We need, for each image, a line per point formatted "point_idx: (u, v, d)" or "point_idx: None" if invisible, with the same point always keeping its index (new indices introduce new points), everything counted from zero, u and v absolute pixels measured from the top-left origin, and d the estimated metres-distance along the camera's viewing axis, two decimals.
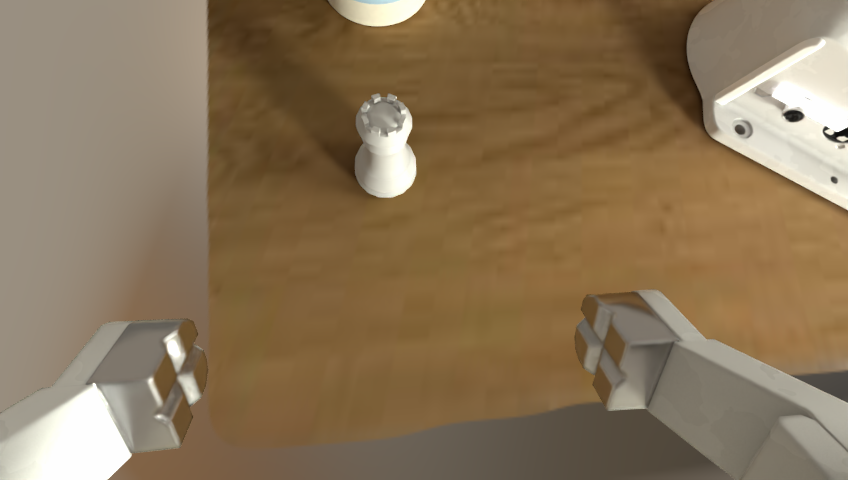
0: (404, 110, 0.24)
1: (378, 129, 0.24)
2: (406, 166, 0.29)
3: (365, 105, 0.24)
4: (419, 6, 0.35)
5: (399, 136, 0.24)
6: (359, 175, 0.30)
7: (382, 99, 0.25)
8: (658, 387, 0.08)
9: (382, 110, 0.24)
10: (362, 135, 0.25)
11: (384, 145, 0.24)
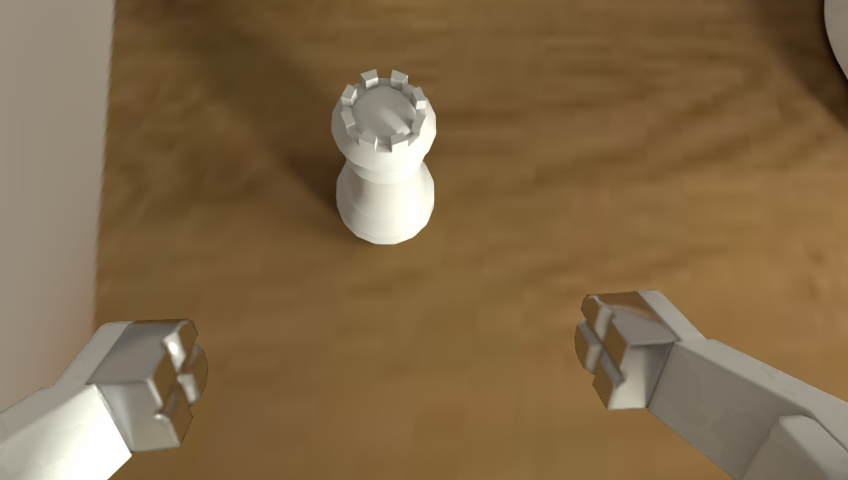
0: (423, 102, 0.13)
1: (373, 138, 0.12)
2: (420, 197, 0.18)
3: (349, 91, 0.13)
4: None
5: (413, 151, 0.13)
6: (343, 210, 0.18)
7: (381, 81, 0.13)
8: (658, 387, 0.08)
9: (381, 101, 0.13)
10: (343, 148, 0.13)
11: (384, 168, 0.13)
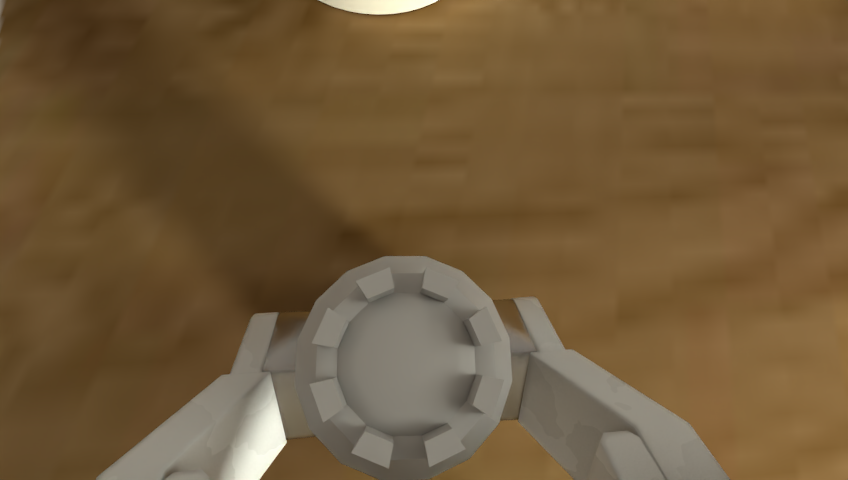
0: (494, 342, 0.06)
1: (386, 449, 0.05)
2: None
3: (329, 327, 0.06)
4: None
5: (471, 439, 0.06)
6: None
7: (400, 281, 0.06)
8: (523, 398, 0.08)
9: (400, 334, 0.06)
10: (319, 432, 0.06)
11: (408, 477, 0.06)
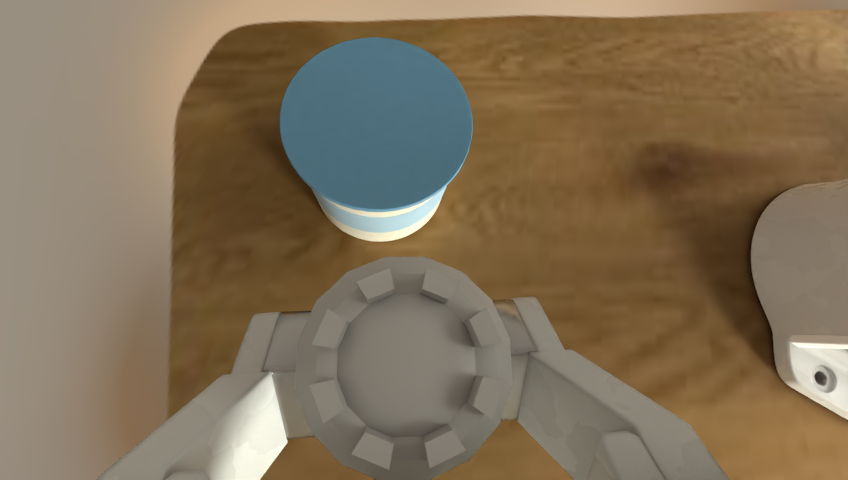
0: (494, 343, 0.06)
1: (386, 451, 0.05)
2: None
3: (330, 328, 0.06)
4: (432, 214, 0.29)
5: (471, 440, 0.06)
6: None
7: (400, 282, 0.06)
8: (523, 398, 0.08)
9: (401, 335, 0.06)
10: (319, 433, 0.06)
11: (409, 478, 0.06)
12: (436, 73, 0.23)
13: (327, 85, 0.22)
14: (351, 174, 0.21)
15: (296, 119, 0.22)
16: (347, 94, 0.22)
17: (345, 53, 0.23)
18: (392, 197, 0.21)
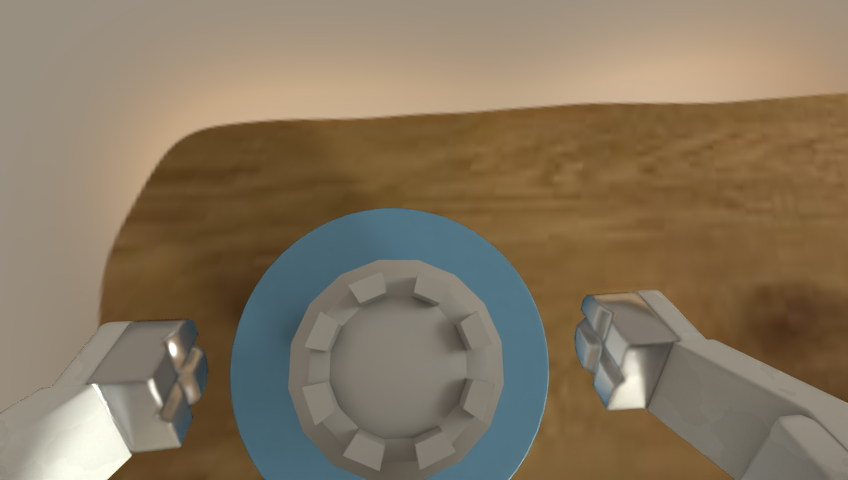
0: (485, 346, 0.06)
1: (377, 452, 0.05)
2: None
3: (322, 331, 0.06)
4: None
5: (462, 442, 0.06)
6: None
7: (393, 285, 0.06)
8: (658, 387, 0.08)
9: (392, 338, 0.06)
10: (312, 435, 0.06)
11: (400, 479, 0.06)
12: (487, 268, 0.14)
13: (311, 299, 0.14)
14: None
15: (258, 367, 0.13)
16: None
17: (340, 239, 0.14)
18: None
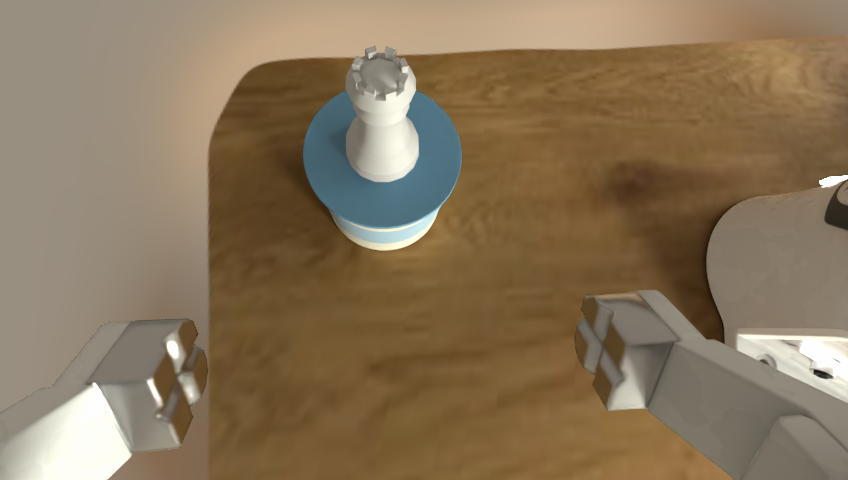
0: (406, 67, 0.19)
1: (373, 90, 0.19)
2: (407, 143, 0.24)
3: (357, 60, 0.19)
4: None
5: (400, 100, 0.20)
6: (351, 155, 0.25)
7: (378, 54, 0.20)
8: (658, 387, 0.08)
9: (378, 67, 0.19)
10: (353, 99, 0.20)
11: (381, 111, 0.20)
12: (431, 112, 0.28)
13: (341, 124, 0.27)
14: (362, 198, 0.26)
15: (316, 153, 0.26)
16: None
17: None
18: (395, 217, 0.26)
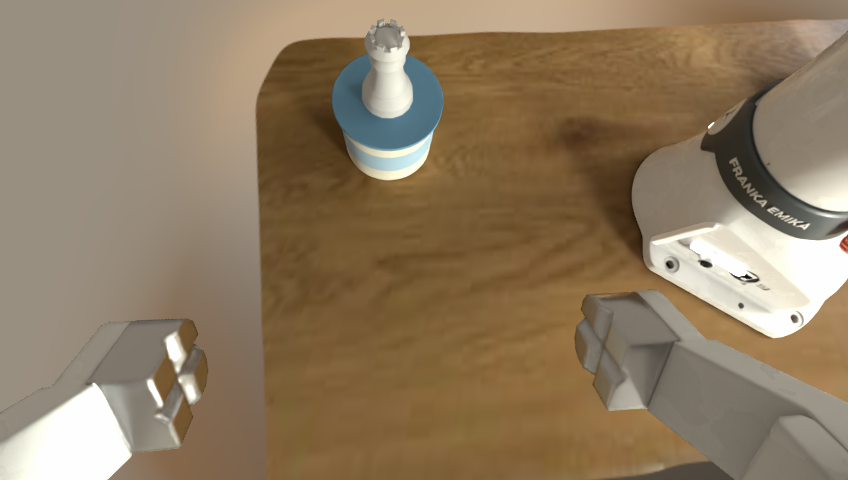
0: (403, 32, 0.31)
1: (382, 45, 0.30)
2: (404, 89, 0.36)
3: (372, 27, 0.30)
4: (422, 163, 0.45)
5: (399, 53, 0.31)
6: (366, 97, 0.36)
7: (386, 24, 0.31)
8: (658, 387, 0.08)
9: (385, 32, 0.31)
10: (370, 52, 0.31)
11: (387, 60, 0.31)
12: (422, 71, 0.39)
13: (358, 79, 0.38)
14: (373, 129, 0.37)
15: (341, 99, 0.38)
16: None
17: (368, 60, 0.39)
18: (396, 142, 0.37)
